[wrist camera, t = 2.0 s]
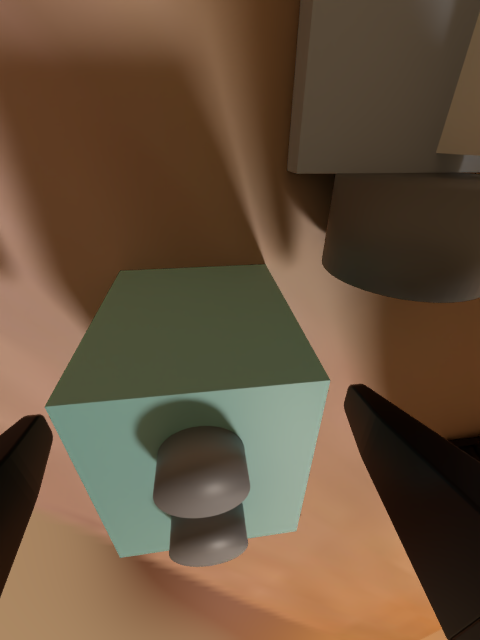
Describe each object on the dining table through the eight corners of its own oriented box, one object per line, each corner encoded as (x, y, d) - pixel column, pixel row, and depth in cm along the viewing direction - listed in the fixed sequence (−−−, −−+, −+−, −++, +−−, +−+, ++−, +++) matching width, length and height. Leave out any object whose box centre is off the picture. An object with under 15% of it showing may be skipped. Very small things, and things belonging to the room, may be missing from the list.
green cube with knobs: (258, 386, 14) (305, 564, 8) (148, 396, 13) (113, 596, 7) (265, 263, 11) (349, 414, 5) (120, 270, 10) (20, 449, 4)
